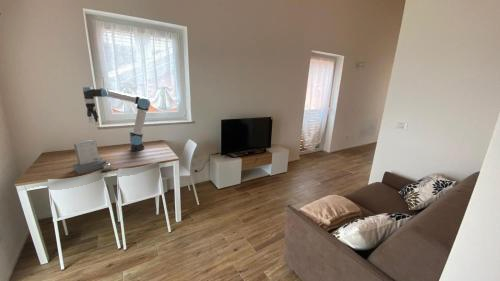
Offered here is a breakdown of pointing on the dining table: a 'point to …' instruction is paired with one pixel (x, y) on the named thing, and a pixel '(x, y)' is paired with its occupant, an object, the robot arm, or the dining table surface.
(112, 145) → the dining table surface
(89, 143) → the hard drive box
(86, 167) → the stand
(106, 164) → the metal tin
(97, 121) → the robot arm
